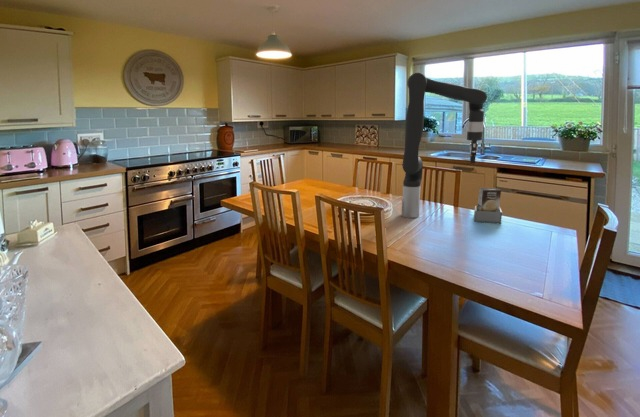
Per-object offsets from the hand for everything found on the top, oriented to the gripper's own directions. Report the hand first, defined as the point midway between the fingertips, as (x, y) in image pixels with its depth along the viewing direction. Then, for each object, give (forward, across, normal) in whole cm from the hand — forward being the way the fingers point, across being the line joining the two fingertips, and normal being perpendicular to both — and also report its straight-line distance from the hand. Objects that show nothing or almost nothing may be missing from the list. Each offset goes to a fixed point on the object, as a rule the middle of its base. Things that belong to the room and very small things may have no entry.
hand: (472, 162), depth 201 cm
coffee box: (+30, -3, -10) cm, 31 cm away
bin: (+30, -3, -10) cm, 32 cm away
